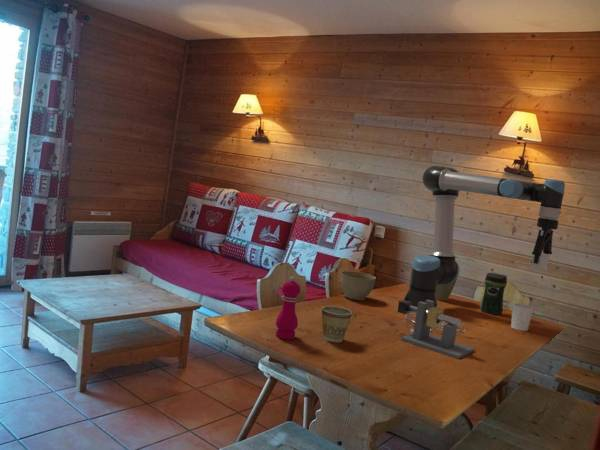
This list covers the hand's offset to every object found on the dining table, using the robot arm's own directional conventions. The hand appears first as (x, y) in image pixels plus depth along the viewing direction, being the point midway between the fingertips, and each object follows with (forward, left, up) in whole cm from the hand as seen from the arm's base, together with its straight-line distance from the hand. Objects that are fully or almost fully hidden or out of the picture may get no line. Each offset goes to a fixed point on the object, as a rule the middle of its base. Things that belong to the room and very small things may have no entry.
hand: (538, 270), depth 214 cm
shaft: (-20, -53, -19) cm, 60 cm away
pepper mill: (-50, -95, -27) cm, 111 cm away
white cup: (-5, +6, -27) cm, 28 cm away
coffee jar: (-23, +23, -27) cm, 42 cm away
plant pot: (-49, +23, -27) cm, 61 cm away
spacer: (-18, -53, -20) cm, 60 cm away
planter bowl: (-70, -22, -27) cm, 78 cm away
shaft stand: (-16, -53, -27) cm, 61 cm away
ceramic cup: (-39, -81, -27) cm, 94 cm away
